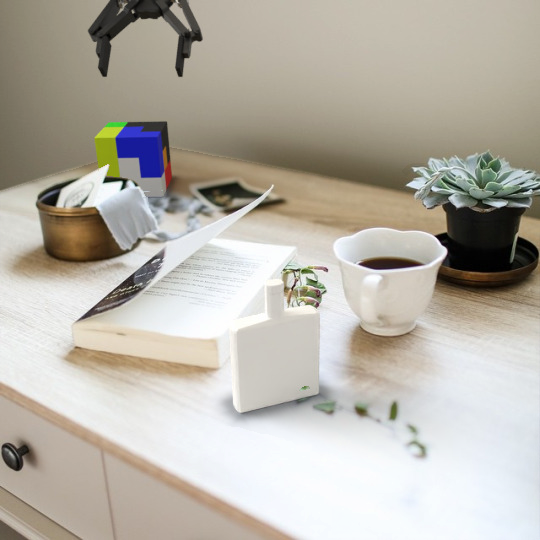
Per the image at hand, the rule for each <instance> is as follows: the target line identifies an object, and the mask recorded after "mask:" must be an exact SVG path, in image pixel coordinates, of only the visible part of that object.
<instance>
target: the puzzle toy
mask: <svg viewBox="0 0 540 540" xmlns="http://www.w3.org/2000/svg"><path fill="white" fill-rule="evenodd" d="M168 127H169V126H168V121H166V120H165V121H163V120H161V121H110V122H108V123H107V124H106V125H105V126H104V127H103V128H102V129H101V130H100V131H99V132H98V133H97V134H96V135H95V136H94V146H95V154H96V161H97V169H98V170H99V168H101V167H103V166H105V165H107V164H109V165H110V166H109V170H108V172H107V176H113V177H122V178H128V179H132V180H134V181H136V182H137V183H138V184H139V185H140V186H141V188H142V189H143V191H150V192H144V194H145V196H146V197H145V198H163V197H164V196H165V195H166V191H167V190H168V188H169V185H170V182H171V181H172V179H173V173H172V162H171V161H172V160H171V150H170V149H171V148H170V140H169V139H170V138H169V128H168ZM161 190H163V191H161Z"/></svg>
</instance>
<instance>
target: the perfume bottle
mask: <svg viewBox="0 0 540 540" xmlns="http://www.w3.org/2000/svg"><path fill="white" fill-rule="evenodd" d="M263 286H264V287H263V289H264V290H263V291H264V312H262V313H261V312H260V313H256V314H252V315H248V316H245V317H240V318H236V319H232V320H230V321H229V323H228V338H229V349H230V350H229V351H230V352H229V353H230V370H231V388H232V404H233V405H232V406H233V407H234V409H235V411H237V412H238V413H240V414H242V413H247V412H250V411H251V412H252V411H255V410H259V409H260V410H261V409H263V408H268V407H271V406H276V405H279V404H285V403H289V402H293V401H296V400H301V399H304V398H309V397H313V396H316V395H319V393H320V347H321V346H320V343H321V341H320V338H321V314H320V312H319V310H318V309H317V308H316V307H315V306H313V305H311V304H305V305H299V306H294V307H288V308H285V282H284V280H282V279H281V278H272V279H271V278H270V279H267V280H265V281H264V283H263ZM304 386H309V387H310V389H306V390H302V391H299V390H300V389H301V388H302V387H304Z"/></svg>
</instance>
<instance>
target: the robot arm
mask: <svg viewBox="0 0 540 540" xmlns="http://www.w3.org/2000/svg"><path fill="white" fill-rule="evenodd" d="M174 4H176V6H177V7H178V8H179V9H181V10H182V13H183V15H184V17H185V20H186V22H187V24H188V26H189V28H187V27H186V26H185V24H184V23H183V22H182V21H181V20H180V19H179V18H178V16H177V15H176V14H175V13H174V12H173V11H172V10H171V9H170V8H171V7H173V5H174ZM121 9H122V10H121ZM159 18H161V19H163V20H164V21H165V23H168V25H169V26H170V27H171V28H172V29H173V30H174V31H175V33H176V34H177V35H178V39H177V47H176V48H177V49H176V57H175V64H174V65H175V66H174V69H175V72H176V75H177V77H178V78H183V76H184V68H185V60H186V59H190V57H191V55H192V54H191V53H192V46H193V43H195V42H198V43H200V42H203V40H204V39H203V38H204V37H203V33H202V30H201V27H200V25H199V23H198V21H197V19H196V17H195V15H194V13H193V11H192V8H191V7H190V2H189V0H109V1H108V2H107V3H106V5H105V7H104V8H103V9H102V10H101V12H100V13H99V14H98V15H97V17H96V18H95V20H94V21H93V22H92V24H91V25H90V26H89V28H88V29H87V33H88V35H89V37H90V39H91V41H92V42H93V43H96V45H95V54H96V56H97V58H98V64H97V69H98V72H99V73H100V74H101V76H102V78H108V72H109V64H110V59H111V51H112V44H111V41H112V40H113V39H115V37H117V36H118V35H119V34H120V33H121V32H122V31H123V30H125V29H126V28H127V27H129V25H130V24H132V23H133V24H134V23H136V22H137V20H139V19H140V20H148V19H151V20H158V19H159Z"/></svg>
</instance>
